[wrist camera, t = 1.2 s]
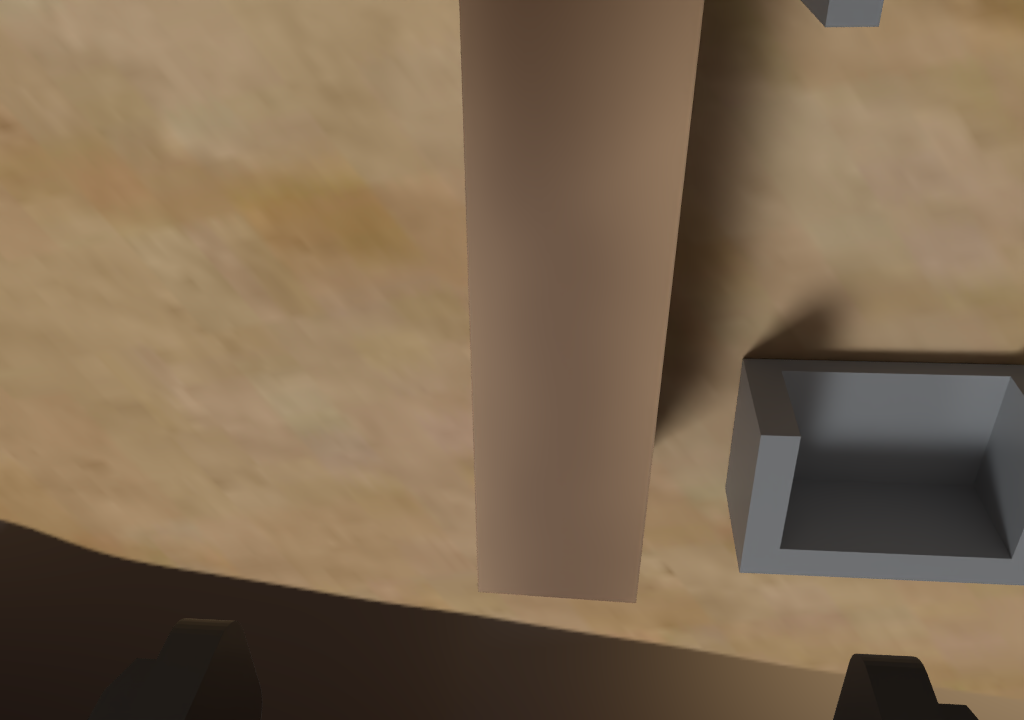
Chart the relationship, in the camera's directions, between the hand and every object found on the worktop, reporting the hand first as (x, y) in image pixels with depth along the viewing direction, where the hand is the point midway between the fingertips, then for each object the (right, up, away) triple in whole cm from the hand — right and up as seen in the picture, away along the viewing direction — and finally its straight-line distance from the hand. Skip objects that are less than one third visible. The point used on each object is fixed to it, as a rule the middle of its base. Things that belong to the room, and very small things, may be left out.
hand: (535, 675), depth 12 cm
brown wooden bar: (+1, +8, +12) cm, 15 cm away
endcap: (+11, +2, +15) cm, 18 cm away
